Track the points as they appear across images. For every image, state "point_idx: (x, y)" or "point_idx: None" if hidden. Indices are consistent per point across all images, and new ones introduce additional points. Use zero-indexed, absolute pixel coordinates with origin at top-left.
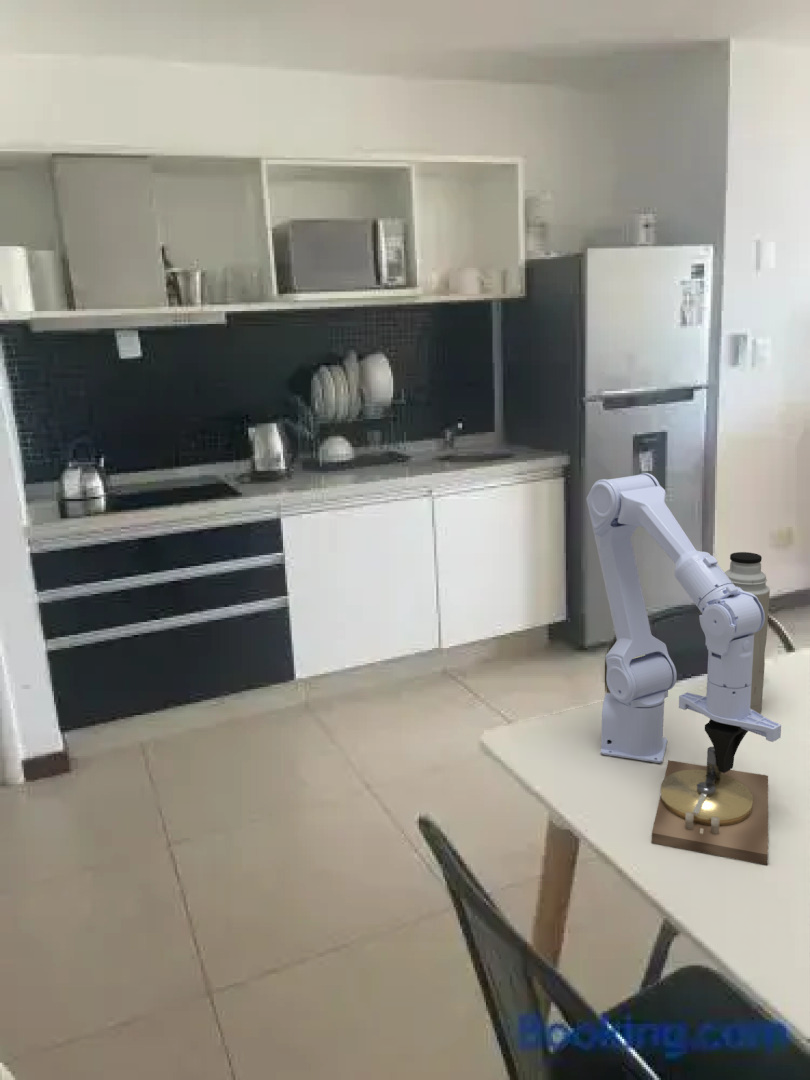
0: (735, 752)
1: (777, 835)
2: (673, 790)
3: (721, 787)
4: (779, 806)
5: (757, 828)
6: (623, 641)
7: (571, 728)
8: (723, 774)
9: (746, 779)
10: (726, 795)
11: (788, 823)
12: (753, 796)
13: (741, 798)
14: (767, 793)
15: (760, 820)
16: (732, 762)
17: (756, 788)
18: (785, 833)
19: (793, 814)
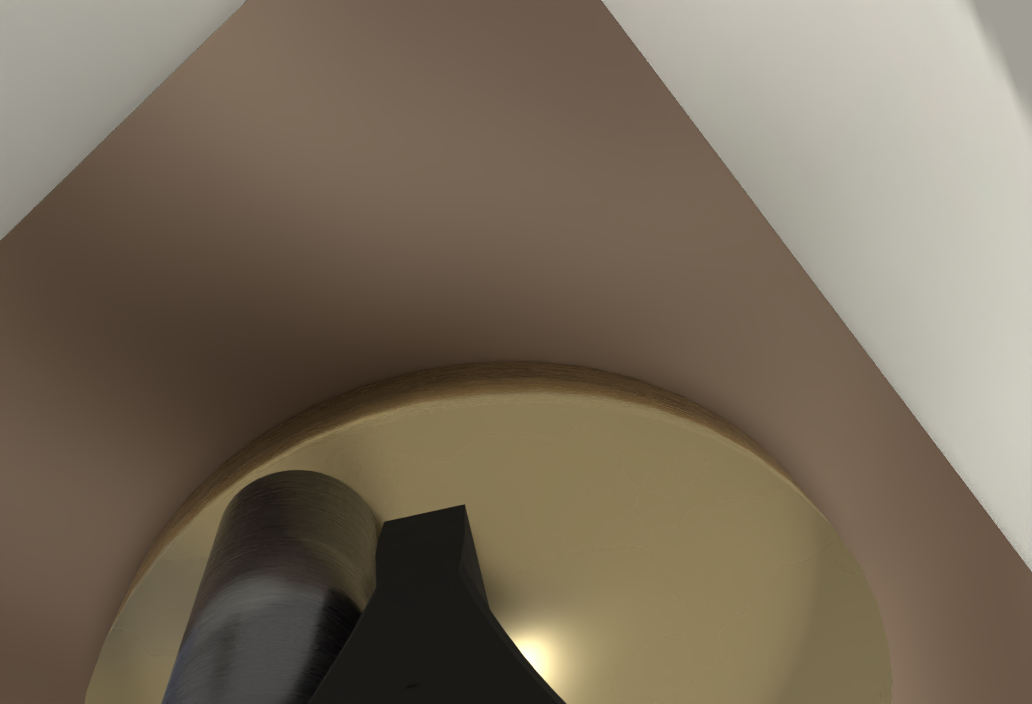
0: (488, 612)
1: (990, 417)
2: None
3: (522, 620)
4: (773, 71)
5: (969, 617)
6: None
7: None
8: (340, 448)
9: (391, 116)
10: (646, 667)
11: (964, 222)
12: (665, 314)
13: (759, 596)
14: (707, 150)
15: (926, 530)
16: (472, 558)
17: (579, 169)
18: (1016, 349)
19: (921, 69)
